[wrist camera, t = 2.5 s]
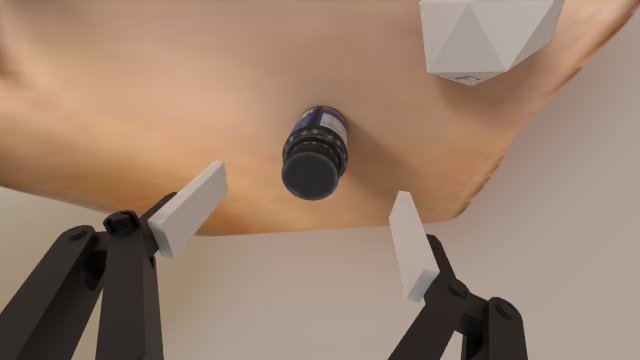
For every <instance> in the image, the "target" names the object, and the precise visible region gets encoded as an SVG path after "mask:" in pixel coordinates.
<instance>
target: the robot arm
mask: <svg viewBox="0 0 640 360" xmlns="http://www.w3.org/2000/svg"><path fill="white" fill-rule="evenodd" d="M227 193H228V186H227V178H226V170H225V163H224V162H221V161H215V160H214V161H213V162H212V163H211V164H210V165H209V166H208V167H207V168H206V169H204V170H203V171H202V172H201V173H200V174H199V175H198V176H197V177H195V178H194V179H193V180H192V181H191V182H190V183H189V184H188V185H186V186H185V187H184V188H183V189H182V190H181V191H180V192H179V193H177V192H173V193H171V194H169V195H166V196H165V197H164V198H162V199H161V200H160V201H159V203H156V204H155V205H154V207H152V208H151V209H149V210H148V211H147V212H146V213H145V214H143V215H142V216H141V217H140V218H139V219H138V217H137V215H136V213H135V212H134V211H130V210H125V211H119V212H116V213H113V214H112V215H110V216H108V217H107V218H106V219H105V220H104V221H103V225H104V226H105V228H106V230H107V231H104V232H96V231H95V230H94V228H93V227H92V226H89V225H81V226H77V227H74V228H72V229H69V230H67V231H65V232H64V233H62V234H61V235H60V236H59V237H58V238H57V240H56V241H55V242H54V244H53V245H52V246H51V247H50V249H49V250H48V251H47V253H46V254H45V255H44V257H43V258H42V260H41V261H40V262H39V263H38V265H37V266H36V267H35V269H34V270H33V271H32V273H31V274H30V275H29V277H28V278H27V279H26V281H25V282H24V283H23V285H22V286H21V287H20V289H19V290H18V291H17V293H16V294H15V295H14V296H13V298H12V299H11V300H10V302H9V303H8V304H7V306H6V307H5V308H4V310H3V311H2V312H1V314H0V360H71V358H72V356H73V354H74V351H75V349H76V347H77V345H78V342H79V340H80V338H81V336H82V333H83V331H84V329H85V327H86V325H87V322H88V320H89V318H90V315H91V313H92V311H93V309H94V307H95V304H96V302H97V300H98V298H99V295H100V293H101V291H102V289H103V295H102V304H101V313H100V322H99V331H98V339H97V348H96V357H95V360H164V356H163V344H162V332H161V320H160V309H159V308H160V307H159V296H158V283H157V273H156V260H155V256H154V254H155V253H156V252H157V251H158V250H159V251H160V253H161V256H164V257H169V258H175V257H176V256H177V255H178V253H179V252H180V251H181V250H182V249H183V247H184V246H185V245H186V244H187V242H188V241H189V239H191V237H192V236H193V235H194V234H195V232H196V231H197V230H198V229H199V227H200V226H201V225H202V224H203V222H204V221H205V220H206V219H207V218H208V216H209V215H210V214H211V213H212V211H213V210H214V209H215V208H216V206H217V205H218V204H219V203H220V201H221V200H222V199H223V198H224V196H225V195H226V194H227ZM389 223H390V227H391V232H392V237H393V242H394V247H395V252H396V256H397V261H398V266H399V271H400V276H401V281H402V286H403V291H404V295H405V300H408V301H414V302H420V301H421V299H422V298H423V296H424V300H425V303H426V304H425V306H424V307H423V309H422V310H421V312H420V313H419V315H418V316H417V318H416V319H415V320H414V322H413V324H412V325H411V326H410V328H409V329H408V331H407V332H406V334H405V335H404V336H403V338H402V339H401V341H400V342H399V344H398V345H397V347H396V348H395V350H394V351H393V353H392V354H391V356H390V357H389V359H388V360H440V358H441V356H442V354H443V352H444V350H445V348H446V346H447V344H448V342H449V340H450V338H451V336H452V334H453V332H454V330H455V331H457V332H459V333H461V334H463V341H462V352H461V360H528V357H527V350H526V342H525V335H524V329H523V328H524V327H523V320H522V317H521V315H520V313H519V312H518V310H517V309H516V308H515V307H514V306H513V305H512V304H511V303H509V302H508V301H506V300H504V299H502V298H499V297H493V298H491V299H490V300H488V301H487V300H485V299H482V298H480V297H478V296H476V295H474V294H472V293H470V291H469V290H468V288H467V287H466V285H464V284H463V283H462V282H461V281H459V280H458V279H456V277H455V274H454V272H453V270H452V267H451V265H450V263H449V260H448V258H447V257H446V254H445V251H444V249H443V247H442V244H441V242H440V241H439V240H438V239H437V238H436V237H435V236H434V235H429V234H425V231H424V228H423V226H422V223H421V220H420V218H419V215H418V213H417V210H416V207H415V205H414V202H413V199H412V197H411V194H410V192H406V191H400V190H399V192H398V195H397V198H396V200H395V203H394V206H393V208H392V211H391V214H390V216H389Z"/></svg>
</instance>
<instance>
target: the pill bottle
mask: <svg viewBox="0 0 640 360" xmlns="http://www.w3.org/2000/svg"><path fill="white" fill-rule="evenodd" d="M282 159H283V168H282V180H283V183H284V185H285V186H286V188H287V189H288V190H289V191H290V192H291V193H292V194H293V195H295V196H297V197H299V198H301V199H305V200H320V199H323V198H325V197H327V196H329V195H330V194H332V192H333V191H334V190H335V189H336V187H337V184H338V181H339V178H340V177H341V176H342V175H343V173H344V172H345V169H346V166H347V161H348V151H347V124H346V122H345V120H344V118H343V116H342V115H341V114H340V113H339V112H338V111H337V110H335V109H333V108H330V107H327V106H316V107H312V108H310V109H309V110H307V111H305V112H304V113H303V115H302V116H301V117H300V118H299V120H298V122H297V124H296V125H295V127H294V129H293V131H292V132H291V134H290V136H289V138H288V139H287V141H286V143H285V145H284V148H283V152H282Z"/></svg>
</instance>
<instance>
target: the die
mask: <svg viewBox="0 0 640 360" xmlns="http://www.w3.org/2000/svg"><path fill="white" fill-rule="evenodd" d="M563 3H564V0H421V1H420V2H419V6H420V15H421V24H422V33H423V42H424V51H425V60H426V69H427V73H430V74H433V75H436V76H439V77H443V78H446V79H449V80H452V81H456V82H459V83H462V84H465V85H469V86H474V85H476V84H478V83H481V82H483V81H485V80H488V79H490V78H492V77H495V76H497V75H499V74H502V73H504V72H506V71H508V70H510V69H511V68H513V67H514V66H516V65H517V64H518V63H520V62H521V61H523V60H524V59H526V58H527V57H529V56H530V55H532V54H533V53H535V52H536V51H538V50H539V49H541V48H542V47H544V46H545V45H547V44H548V43H550V41H551V38H552V35H553V32H554V29H555V27H556V24H557V21H558V18H559V15H560V12H561V9H562V6H563Z"/></svg>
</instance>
